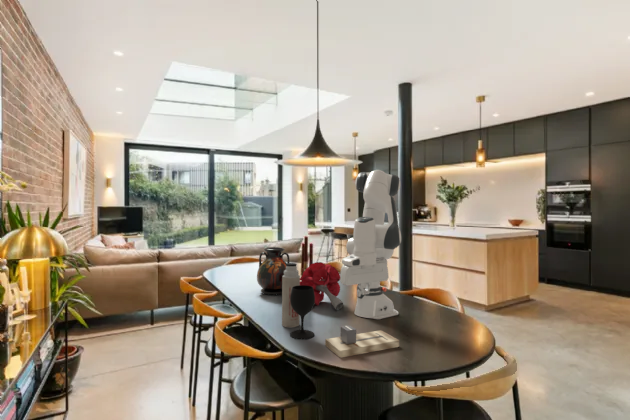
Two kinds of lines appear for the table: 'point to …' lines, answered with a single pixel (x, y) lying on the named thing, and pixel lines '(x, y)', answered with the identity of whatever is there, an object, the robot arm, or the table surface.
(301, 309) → the wine glass
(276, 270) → the amphora vase
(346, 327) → the fader
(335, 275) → the bouquet
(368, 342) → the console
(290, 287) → the thermos bottle
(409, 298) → the table surface
